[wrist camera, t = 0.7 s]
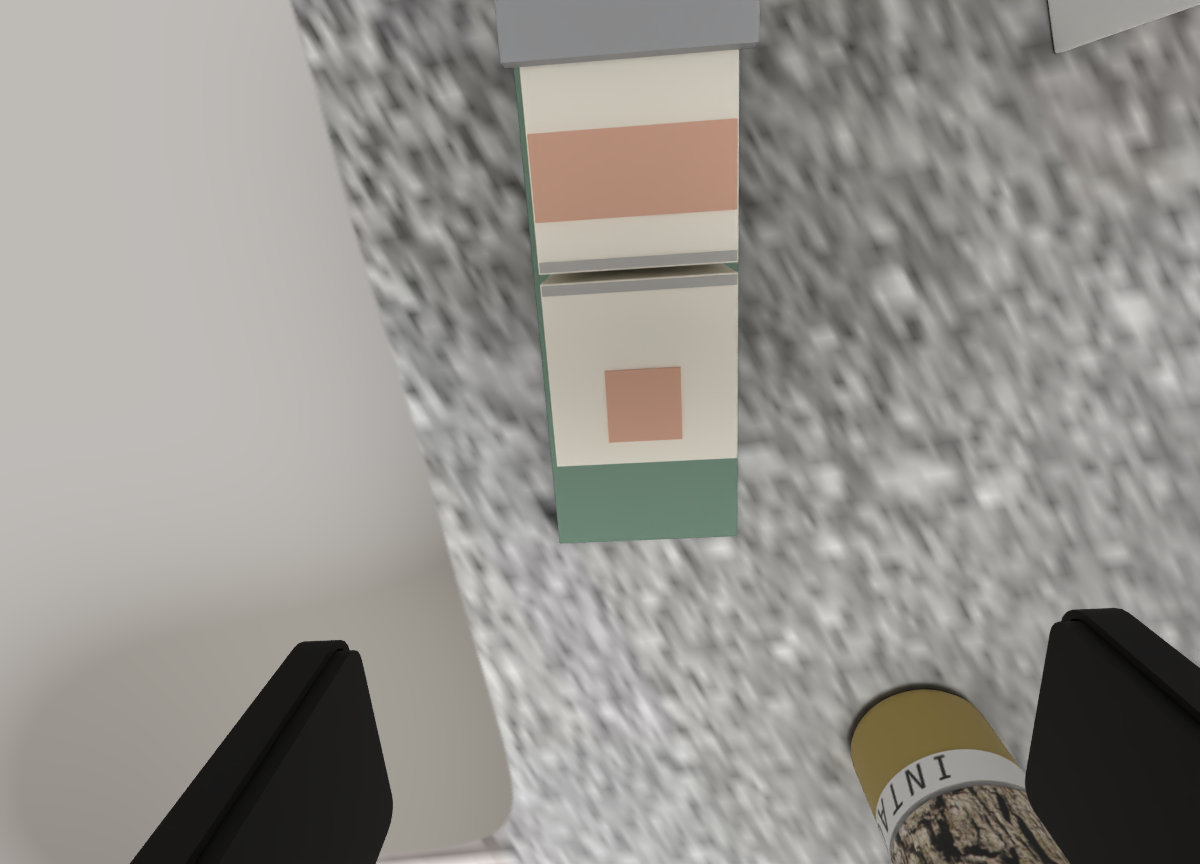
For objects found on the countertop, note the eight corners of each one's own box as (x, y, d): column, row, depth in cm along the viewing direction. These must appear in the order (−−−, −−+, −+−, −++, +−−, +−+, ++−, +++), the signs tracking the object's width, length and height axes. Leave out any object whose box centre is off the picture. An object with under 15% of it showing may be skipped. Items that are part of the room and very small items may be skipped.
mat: (502, -55, 22) (501, -58, 22) (738, -76, 22) (739, -80, 22) (560, 540, 30) (559, 543, 29) (735, 532, 29) (737, 536, 29)
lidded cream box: (529, 51, 23) (493, -8, 17) (721, 35, 23) (760, -31, 16) (547, 260, 25) (522, 278, 19) (722, 248, 25) (756, 263, 19)
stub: (558, 267, 25) (539, 285, 20) (712, 257, 25) (738, 272, 19) (570, 412, 27) (556, 467, 22) (713, 405, 27) (737, 459, 21)
